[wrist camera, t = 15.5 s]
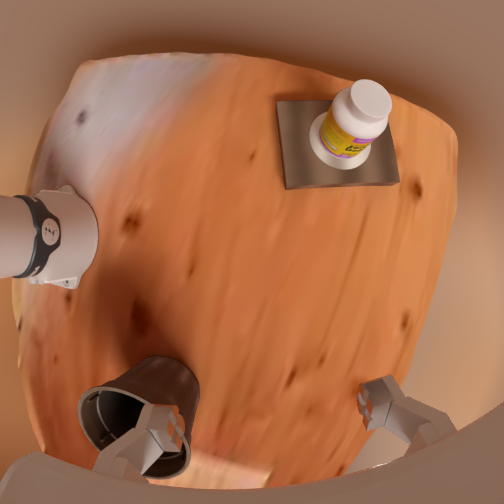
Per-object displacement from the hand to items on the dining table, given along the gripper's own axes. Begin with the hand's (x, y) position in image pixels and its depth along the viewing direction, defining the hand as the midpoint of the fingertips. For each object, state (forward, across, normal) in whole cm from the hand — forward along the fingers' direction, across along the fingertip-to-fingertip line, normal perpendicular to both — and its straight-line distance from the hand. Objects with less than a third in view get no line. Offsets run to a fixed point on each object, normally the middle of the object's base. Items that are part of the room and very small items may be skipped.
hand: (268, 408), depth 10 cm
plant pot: (+25, +18, +22) cm, 38 cm away
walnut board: (+33, -14, -12) cm, 38 cm away
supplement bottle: (+30, -14, -13) cm, 36 cm away
